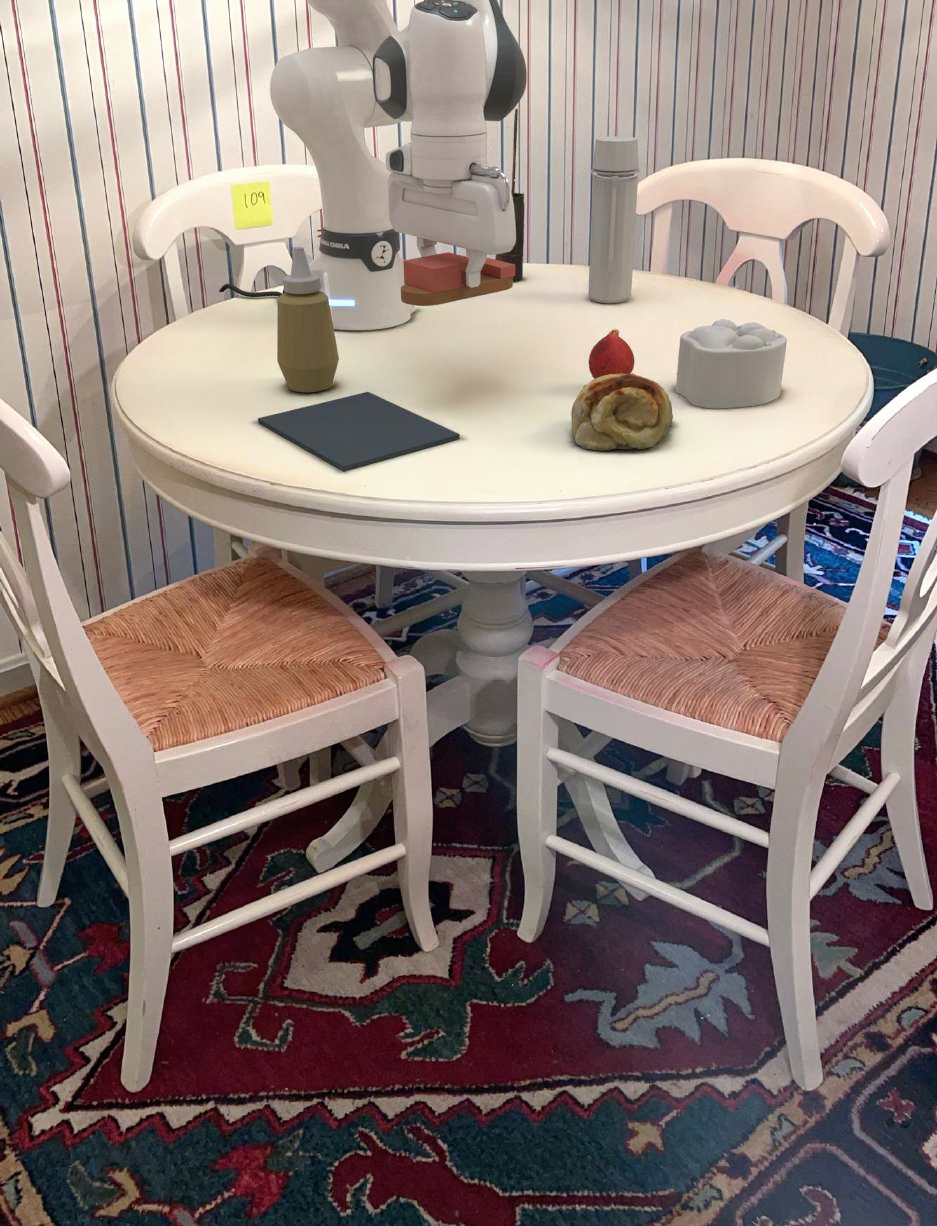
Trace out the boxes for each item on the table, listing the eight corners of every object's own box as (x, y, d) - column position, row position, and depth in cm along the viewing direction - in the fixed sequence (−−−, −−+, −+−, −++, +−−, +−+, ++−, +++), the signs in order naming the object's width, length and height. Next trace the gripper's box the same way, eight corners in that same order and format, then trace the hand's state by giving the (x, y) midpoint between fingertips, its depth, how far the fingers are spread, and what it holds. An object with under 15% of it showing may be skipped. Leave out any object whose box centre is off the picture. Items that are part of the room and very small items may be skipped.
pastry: (597, 461, 124) (601, 392, 120) (546, 426, 134) (548, 361, 130) (704, 442, 129) (710, 374, 125) (647, 409, 139) (651, 346, 135)
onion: (603, 399, 142) (606, 337, 138) (579, 387, 147) (581, 326, 143) (640, 392, 144) (644, 331, 141) (615, 380, 149) (619, 320, 145)
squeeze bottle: (350, 380, 150) (341, 243, 141) (324, 399, 144) (313, 256, 135) (296, 375, 153) (284, 239, 144) (268, 393, 146) (254, 252, 137)
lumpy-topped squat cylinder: (668, 385, 147) (673, 319, 143) (759, 377, 149) (767, 312, 145) (699, 410, 138) (706, 341, 134) (796, 402, 140) (805, 334, 136)
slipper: (491, 278, 144) (491, 244, 141) (522, 286, 139) (522, 251, 137) (391, 299, 135) (389, 262, 133) (421, 308, 131) (420, 271, 129)
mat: (258, 422, 136) (257, 418, 136) (368, 395, 145) (367, 391, 144) (343, 471, 122) (343, 466, 122) (459, 438, 131) (459, 433, 130)
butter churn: (519, 289, 194) (521, 113, 180) (472, 283, 198) (470, 111, 184) (543, 278, 200) (547, 108, 187) (497, 272, 205) (497, 106, 191)
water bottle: (586, 293, 190) (593, 135, 178) (633, 294, 189) (642, 135, 177) (584, 307, 182) (590, 143, 170) (632, 308, 181) (642, 143, 169)
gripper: (529, 165, 124) (527, 291, 131) (418, 148, 137) (421, 263, 144) (486, 171, 120) (486, 300, 127) (376, 153, 134) (382, 270, 141)
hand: (451, 280), depth 136 cm, fingers closed on slipper, 6 cm apart
